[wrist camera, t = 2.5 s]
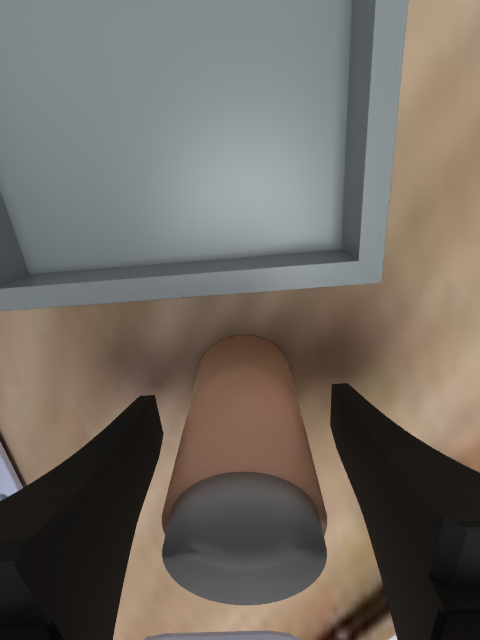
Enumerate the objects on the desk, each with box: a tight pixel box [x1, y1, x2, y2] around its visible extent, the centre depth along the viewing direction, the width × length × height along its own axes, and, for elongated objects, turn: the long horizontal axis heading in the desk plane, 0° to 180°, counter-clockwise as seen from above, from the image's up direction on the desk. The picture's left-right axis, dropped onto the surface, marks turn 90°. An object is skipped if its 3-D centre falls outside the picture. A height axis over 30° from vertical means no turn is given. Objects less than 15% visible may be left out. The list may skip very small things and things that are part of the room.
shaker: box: [162, 335, 327, 605], centre depth 11 cm, size 4×4×8 cm
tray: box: [0, 0, 409, 311], centre depth 10 cm, size 14×12×2 cm
